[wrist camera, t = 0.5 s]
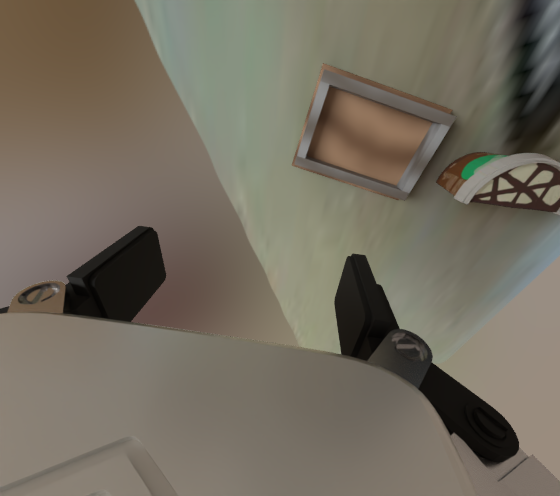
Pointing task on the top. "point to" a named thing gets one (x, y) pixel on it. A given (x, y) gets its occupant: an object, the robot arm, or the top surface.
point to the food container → (505, 180)
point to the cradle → (369, 134)
